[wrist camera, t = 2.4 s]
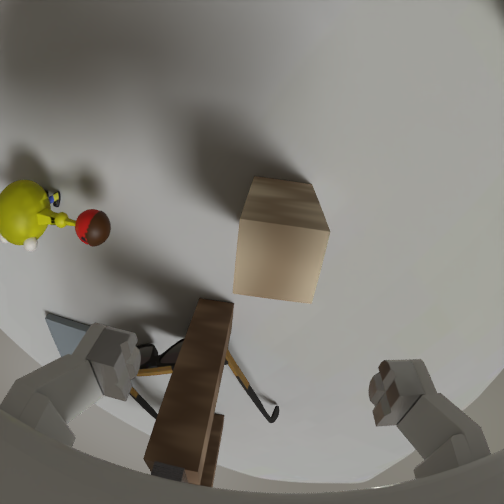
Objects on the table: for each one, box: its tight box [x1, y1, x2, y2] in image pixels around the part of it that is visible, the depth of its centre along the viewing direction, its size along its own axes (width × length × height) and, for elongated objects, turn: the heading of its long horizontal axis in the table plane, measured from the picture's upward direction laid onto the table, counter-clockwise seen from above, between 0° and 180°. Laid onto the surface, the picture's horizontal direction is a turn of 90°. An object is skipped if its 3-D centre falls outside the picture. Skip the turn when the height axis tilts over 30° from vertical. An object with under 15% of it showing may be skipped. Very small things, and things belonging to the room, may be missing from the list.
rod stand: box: [144, 298, 234, 487], centre depth 24 cm, size 3×22×15 cm, turn 174°
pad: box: [45, 313, 90, 357], centre depth 31 cm, size 10×10×1 cm
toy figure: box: [0, 180, 111, 252], centre depth 19 cm, size 18×6×7 cm, turn 79°
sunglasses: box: [129, 338, 279, 423], centre depth 28 cm, size 14×15×5 cm
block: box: [233, 176, 330, 304], centre depth 17 cm, size 4×4×8 cm
